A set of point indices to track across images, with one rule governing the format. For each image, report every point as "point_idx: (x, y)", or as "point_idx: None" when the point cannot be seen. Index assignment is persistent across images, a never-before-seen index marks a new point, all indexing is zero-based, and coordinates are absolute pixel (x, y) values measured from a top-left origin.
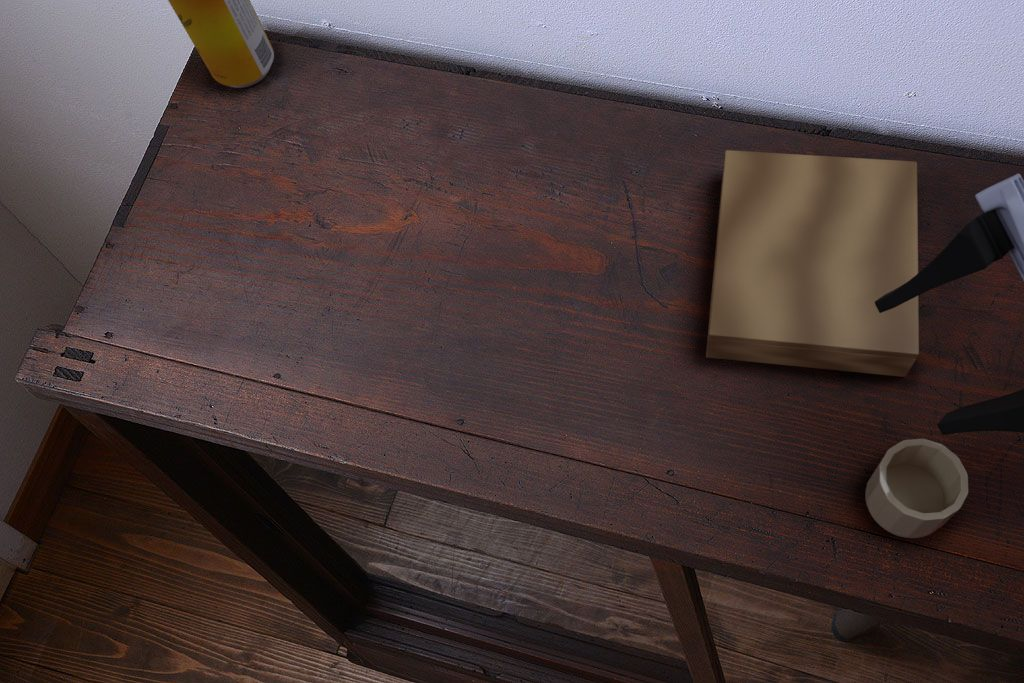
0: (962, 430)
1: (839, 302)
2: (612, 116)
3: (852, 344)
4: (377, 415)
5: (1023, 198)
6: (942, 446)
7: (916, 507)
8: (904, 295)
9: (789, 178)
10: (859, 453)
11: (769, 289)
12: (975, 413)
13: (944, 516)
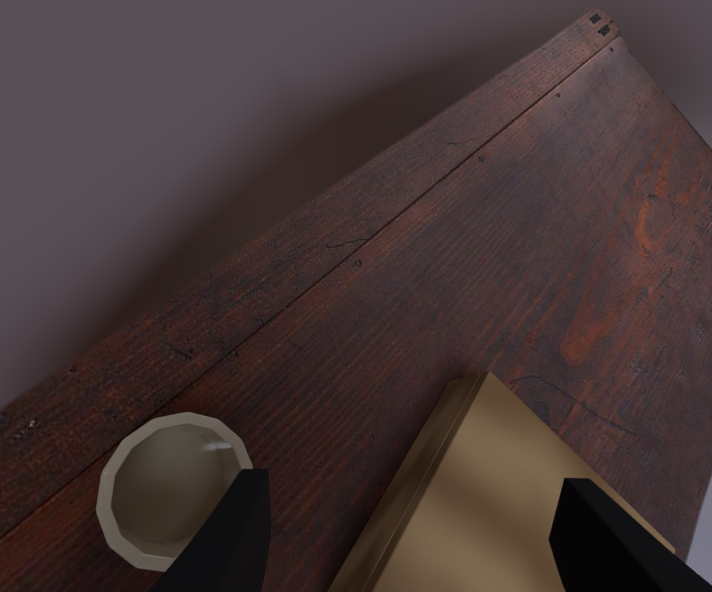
0: (224, 499)
1: (468, 558)
2: (695, 471)
3: (409, 535)
4: (508, 119)
5: None
6: None
7: (150, 484)
8: (628, 531)
9: None
10: (262, 467)
11: (513, 477)
12: (244, 555)
13: (103, 475)
